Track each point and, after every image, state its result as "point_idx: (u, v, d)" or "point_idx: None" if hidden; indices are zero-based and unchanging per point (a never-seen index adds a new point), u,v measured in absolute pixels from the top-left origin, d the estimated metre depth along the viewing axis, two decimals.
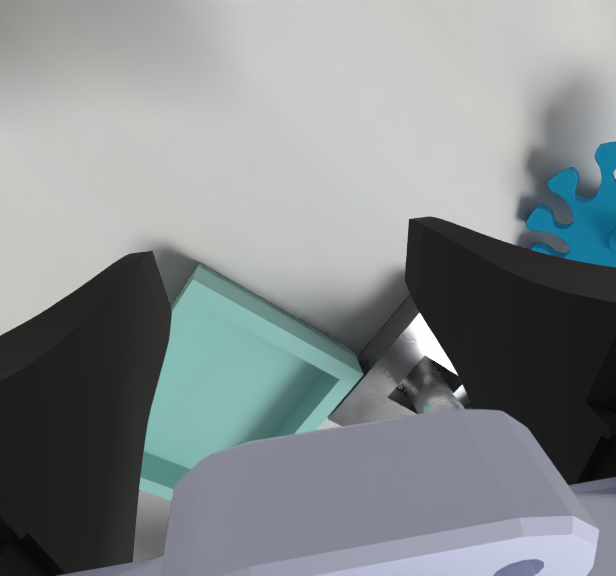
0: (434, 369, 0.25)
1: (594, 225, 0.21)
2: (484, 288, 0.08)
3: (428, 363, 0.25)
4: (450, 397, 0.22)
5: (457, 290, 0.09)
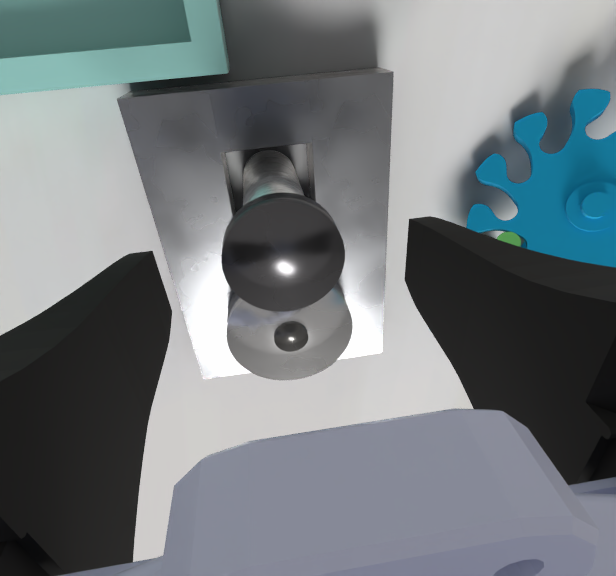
0: None
1: (574, 167, 0.17)
2: (484, 288, 0.08)
3: None
4: None
5: (457, 290, 0.09)
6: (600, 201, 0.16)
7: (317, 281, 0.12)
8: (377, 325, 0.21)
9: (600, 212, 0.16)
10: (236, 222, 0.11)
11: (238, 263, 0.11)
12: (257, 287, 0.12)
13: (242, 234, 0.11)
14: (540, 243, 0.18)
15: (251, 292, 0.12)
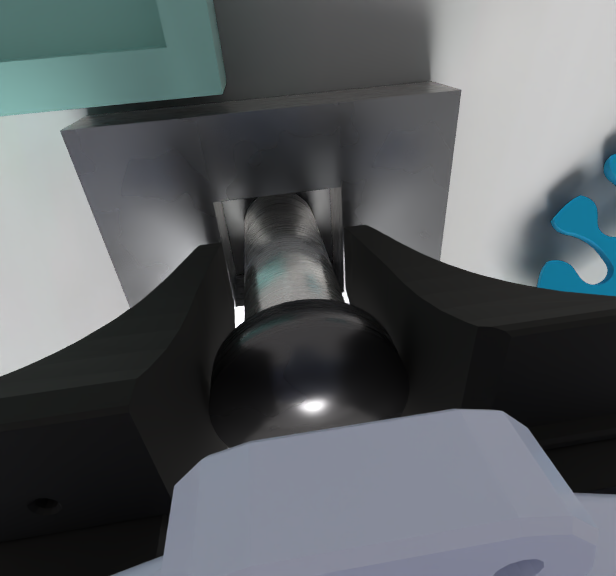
0: None
1: None
2: (393, 301, 0.08)
3: None
4: (334, 273, 0.10)
5: (377, 301, 0.09)
6: None
7: None
8: None
9: None
10: (232, 358, 0.06)
11: (236, 413, 0.07)
12: None
13: (243, 375, 0.07)
14: None
15: None
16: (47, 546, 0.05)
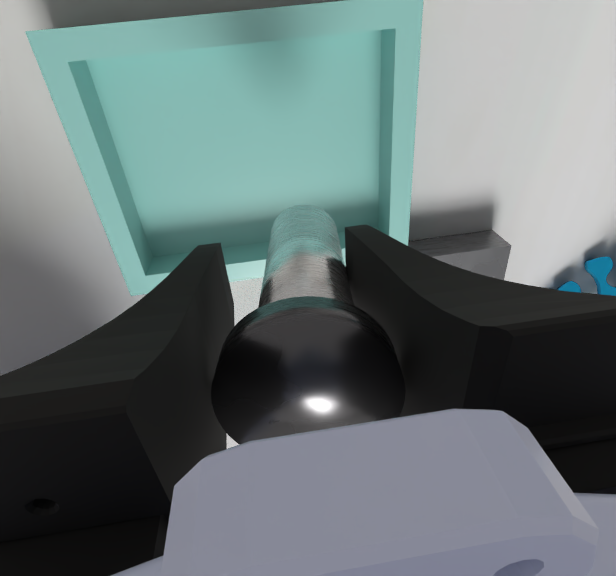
0: None
1: None
2: (394, 301, 0.08)
3: (337, 234, 0.13)
4: (345, 279, 0.10)
5: (378, 301, 0.09)
6: None
7: None
8: None
9: None
10: (230, 350, 0.07)
11: (237, 404, 0.07)
12: (268, 434, 0.08)
13: (240, 366, 0.07)
14: None
15: None
16: (45, 546, 0.05)
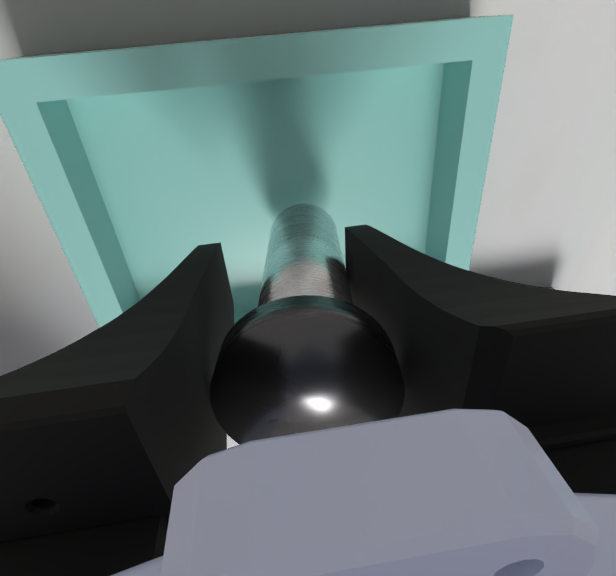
0: (339, 244, 0.13)
1: None
2: (394, 301, 0.08)
3: (337, 233, 0.13)
4: (345, 278, 0.10)
5: (378, 301, 0.09)
6: None
7: None
8: None
9: None
10: (228, 349, 0.07)
11: (236, 403, 0.07)
12: (268, 433, 0.08)
13: (239, 365, 0.07)
14: None
15: (259, 439, 0.08)
16: (44, 546, 0.05)
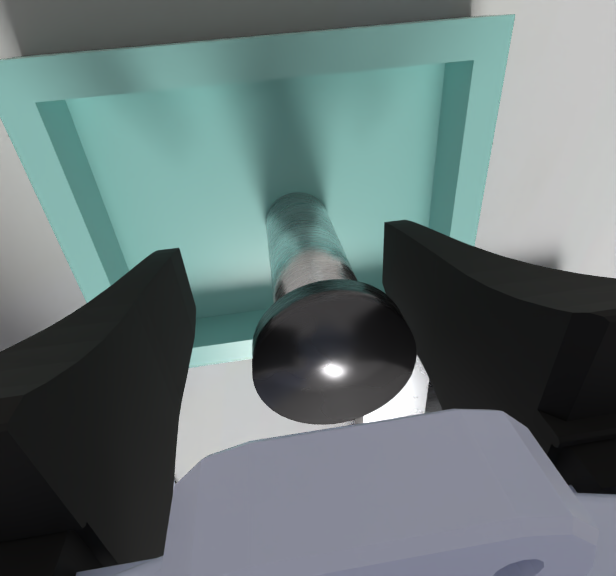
0: None
1: None
2: (449, 293, 0.08)
3: None
4: (348, 261, 0.12)
5: (426, 295, 0.09)
6: None
7: (379, 386, 0.09)
8: None
9: None
10: (270, 329, 0.08)
11: (275, 376, 0.09)
12: (300, 400, 0.09)
13: (279, 343, 0.08)
14: None
15: (292, 406, 0.09)
16: None
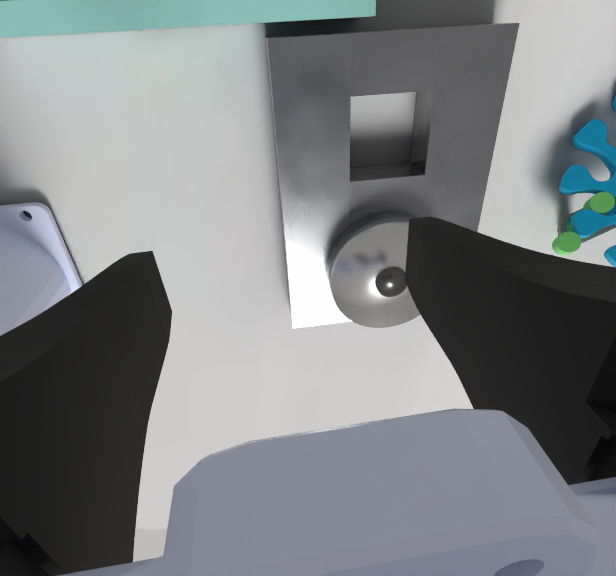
0: None
1: None
2: (484, 288, 0.08)
3: None
4: None
5: (457, 290, 0.09)
6: None
7: None
8: None
9: None
10: None
11: None
12: None
13: None
14: None
15: None
16: None
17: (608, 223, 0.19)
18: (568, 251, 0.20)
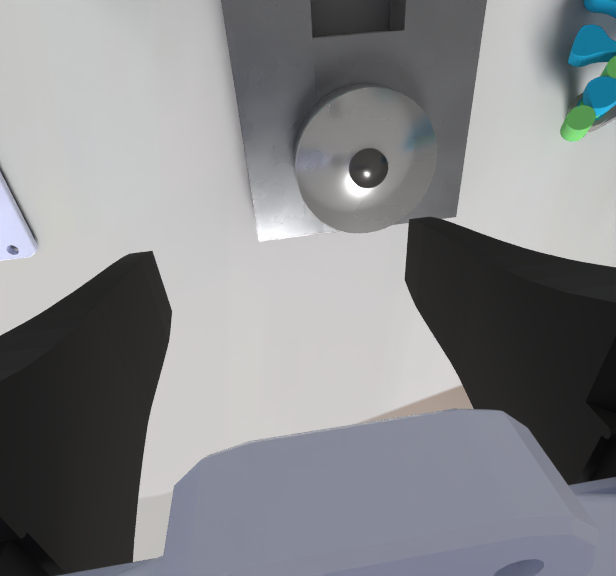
0: None
1: None
2: (484, 288, 0.08)
3: None
4: None
5: (457, 290, 0.09)
6: None
7: None
8: (455, 178, 0.19)
9: None
10: None
11: None
12: None
13: None
14: None
15: None
16: None
17: None
18: (580, 129, 0.17)
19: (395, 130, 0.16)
